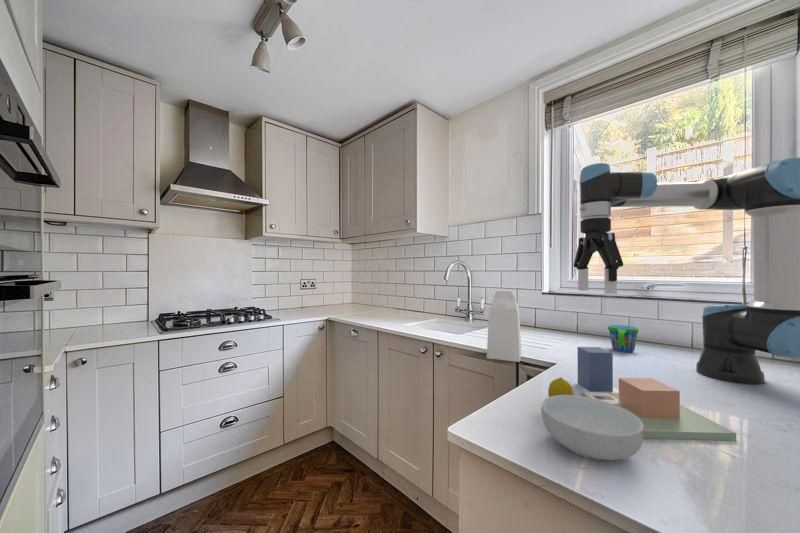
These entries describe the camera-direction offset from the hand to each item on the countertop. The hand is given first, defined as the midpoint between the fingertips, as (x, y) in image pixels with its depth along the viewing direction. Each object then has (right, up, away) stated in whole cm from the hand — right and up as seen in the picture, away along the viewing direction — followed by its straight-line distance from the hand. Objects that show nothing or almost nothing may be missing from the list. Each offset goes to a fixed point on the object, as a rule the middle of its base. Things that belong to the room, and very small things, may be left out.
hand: (595, 292), depth 90 cm
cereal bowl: (-20, -28, -30) cm, 46 cm away
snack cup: (+38, -29, +42) cm, 64 cm away
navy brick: (0, -28, +1) cm, 28 cm away
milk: (-15, -29, +34) cm, 47 cm away
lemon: (-18, -28, -14) cm, 36 cm away
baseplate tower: (+1, -28, -17) cm, 33 cm away
